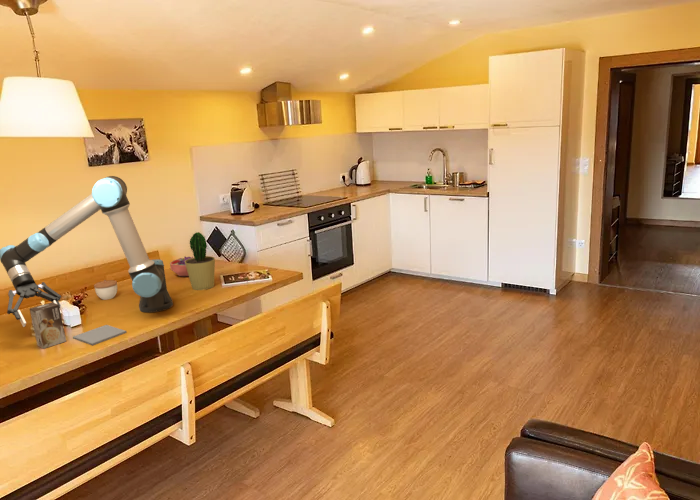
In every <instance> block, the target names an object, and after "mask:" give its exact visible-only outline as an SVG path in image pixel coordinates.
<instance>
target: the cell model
mask: <svg viewBox="0 0 700 500" xmlns="http://www.w3.org/2000/svg"><path fill="white" fill-rule="evenodd" d="M190 258H194V256H184V258H183V257H179V258H177V259H174V260H172V261H170V262H169V267H170V270H171V271H173V273H175V274H176V275H178V277H189V275H188V272H187V268H186V265H185V261H186V260H188V259H190Z"/></svg>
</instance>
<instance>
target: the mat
mask: <svg viewBox="0 0 700 500" xmlns="http://www.w3.org/2000/svg"><path fill="white" fill-rule="evenodd" d="M124 334H127V330H124V329H122V328H118V327H116V326H112V325H109V324H105V325H102V326H99V327H96V328H93V329H90V330H88V331H85V332H82V333H80V334H77V335H74V336H72V339H73V340H76V341H79V342H82V343H83V344H88V345H90V346H94V345H95V346H96V345H98V344H100V343H103V342H106V341H108V340H111V339H114V338H116V337H119V336H121V335H124Z"/></svg>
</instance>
